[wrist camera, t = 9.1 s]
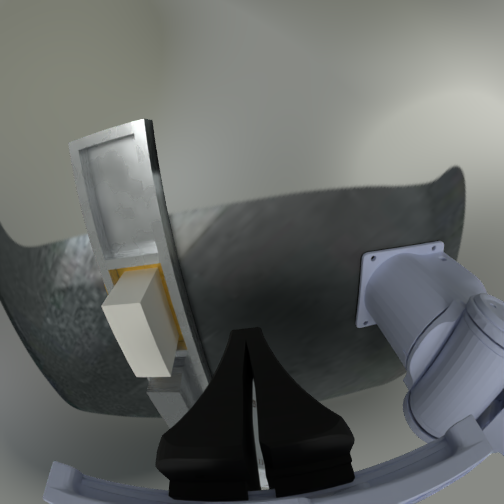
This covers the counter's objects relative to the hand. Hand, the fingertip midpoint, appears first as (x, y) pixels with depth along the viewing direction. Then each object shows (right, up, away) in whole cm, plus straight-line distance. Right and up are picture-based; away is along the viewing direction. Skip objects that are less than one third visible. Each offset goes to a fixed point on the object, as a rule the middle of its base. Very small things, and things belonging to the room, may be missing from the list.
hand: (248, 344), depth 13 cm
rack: (-8, 0, +10) cm, 13 cm away
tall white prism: (-8, 0, +10) cm, 13 cm away
